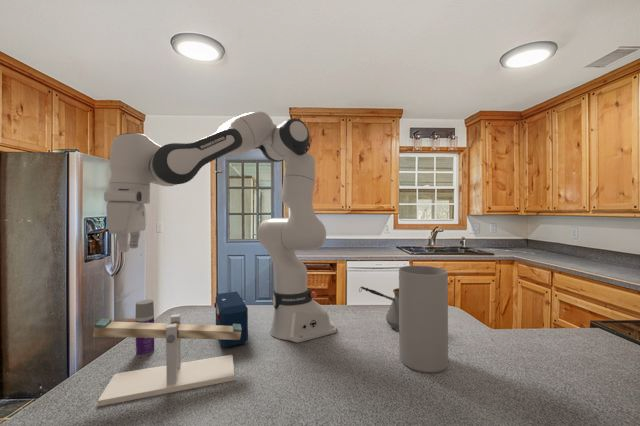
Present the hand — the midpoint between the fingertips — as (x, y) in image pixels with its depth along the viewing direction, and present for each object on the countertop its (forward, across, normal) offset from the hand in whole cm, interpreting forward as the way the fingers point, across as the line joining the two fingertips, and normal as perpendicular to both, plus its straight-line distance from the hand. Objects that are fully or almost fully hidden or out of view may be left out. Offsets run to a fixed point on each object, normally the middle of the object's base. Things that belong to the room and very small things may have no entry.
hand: (129, 250), depth 75 cm
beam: (+21, +7, +11) cm, 25 cm away
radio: (+31, -15, +26) cm, 43 cm away
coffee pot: (+30, -1, +79) cm, 84 cm away
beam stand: (+32, +7, +12) cm, 34 cm away
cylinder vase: (+31, +22, +74) cm, 83 cm away
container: (+32, -11, +2) cm, 34 cm away
